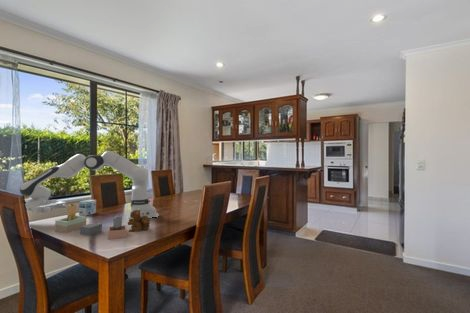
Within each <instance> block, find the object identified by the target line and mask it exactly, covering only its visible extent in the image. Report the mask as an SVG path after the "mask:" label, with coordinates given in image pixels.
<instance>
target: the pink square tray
mask: <svg viewBox="0 0 470 313" xmlns="http://www.w3.org/2000/svg"><path fill="white" fill-rule="evenodd" d="M107 228H108V229H107V239H108V240H113V239H122V238H127V235H128V234H127V232H128V229H127V225H124V224H123V225H122V227H121V230H114V231H113V226H108V227H107Z"/></svg>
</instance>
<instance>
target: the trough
mask: <svg viewBox="0 0 470 313" xmlns="http://www.w3.org/2000/svg"><path fill="white" fill-rule="evenodd" d="M54 223H55V224H54V231H55V232H59V233H67V234H68V233H70V232H73V231H76V230H80V227H81V226H84V225H87V216H84V215H76V219H74V220H71V221H67V217H65V218H59V219H56V220H55V222H54Z"/></svg>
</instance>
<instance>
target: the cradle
mask: <svg viewBox="0 0 470 313" xmlns="http://www.w3.org/2000/svg"><path fill="white" fill-rule="evenodd" d="M102 228H103V224H102V223H96V222H91V223H88V224H87V223H86V225H84V226H81V227H80V229H79V235H84V236H92V235H95V234H97V233H101V232H102V230H103V229H102Z"/></svg>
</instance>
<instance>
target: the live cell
mask: <svg viewBox="0 0 470 313" xmlns="http://www.w3.org/2000/svg"><path fill="white" fill-rule="evenodd" d="M76 212H77V205H76V204H73V203H71V204H69V205H67V217H66V218H67V221H71V220H74V219H76V216H77V213H76Z"/></svg>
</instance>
